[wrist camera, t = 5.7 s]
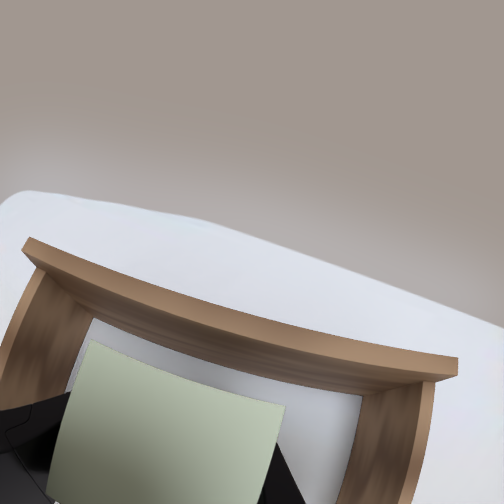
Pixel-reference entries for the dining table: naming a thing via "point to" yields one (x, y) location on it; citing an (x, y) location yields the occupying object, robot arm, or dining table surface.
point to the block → (158, 438)
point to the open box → (227, 360)
